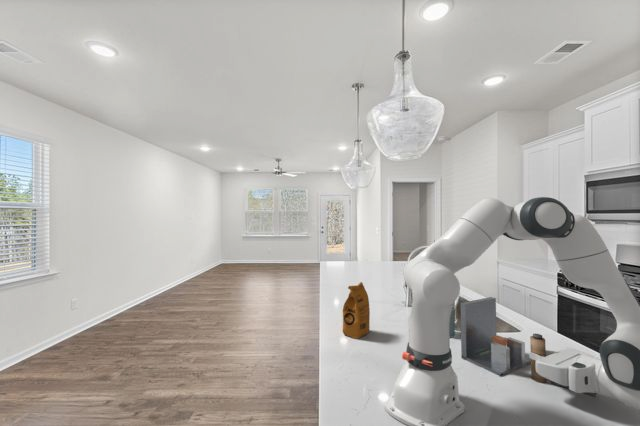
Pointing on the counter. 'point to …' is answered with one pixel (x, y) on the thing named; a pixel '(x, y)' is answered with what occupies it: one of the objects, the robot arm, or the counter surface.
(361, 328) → the coffee package
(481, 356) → the grey l-shaped stand
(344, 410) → the counter surface
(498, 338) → the breaker toggle
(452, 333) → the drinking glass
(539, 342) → the brown bottle
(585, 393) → the bar
